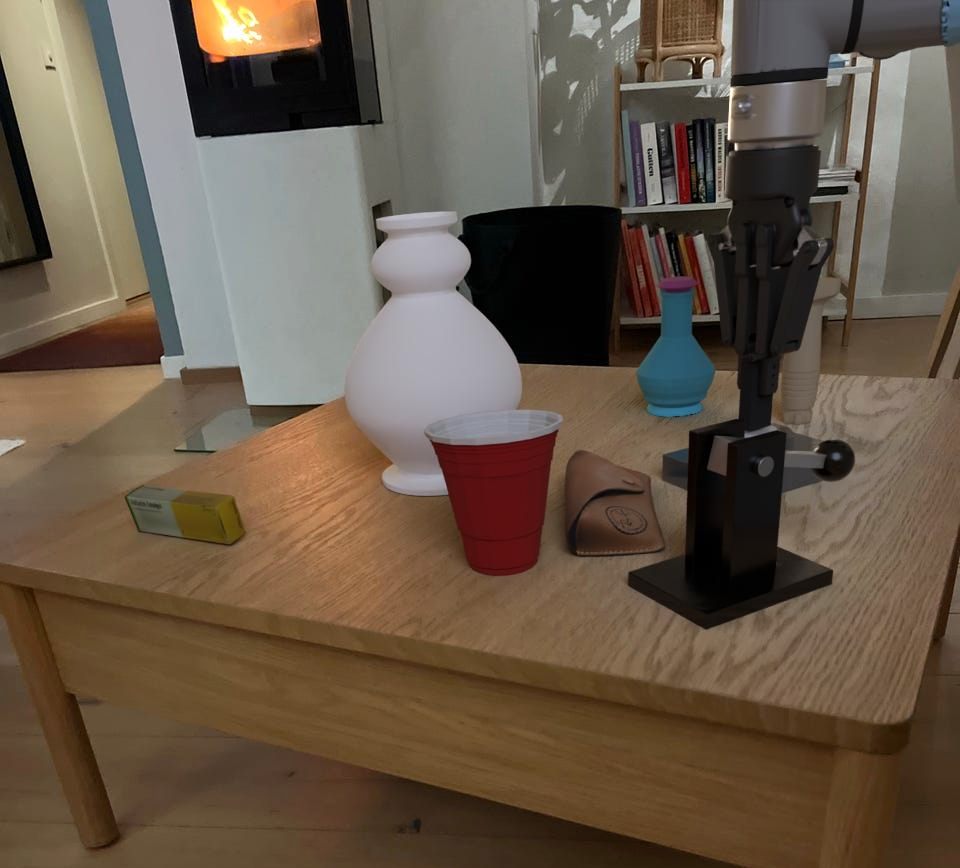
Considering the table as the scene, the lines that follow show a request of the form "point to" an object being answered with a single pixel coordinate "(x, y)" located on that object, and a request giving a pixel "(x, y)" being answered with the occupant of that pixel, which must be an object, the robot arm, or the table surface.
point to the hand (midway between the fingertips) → (754, 426)
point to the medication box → (186, 514)
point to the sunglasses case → (609, 508)
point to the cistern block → (793, 476)
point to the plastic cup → (497, 483)
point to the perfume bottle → (676, 356)
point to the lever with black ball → (797, 458)
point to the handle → (806, 360)
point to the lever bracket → (731, 535)
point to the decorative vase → (424, 352)
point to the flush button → (759, 431)
